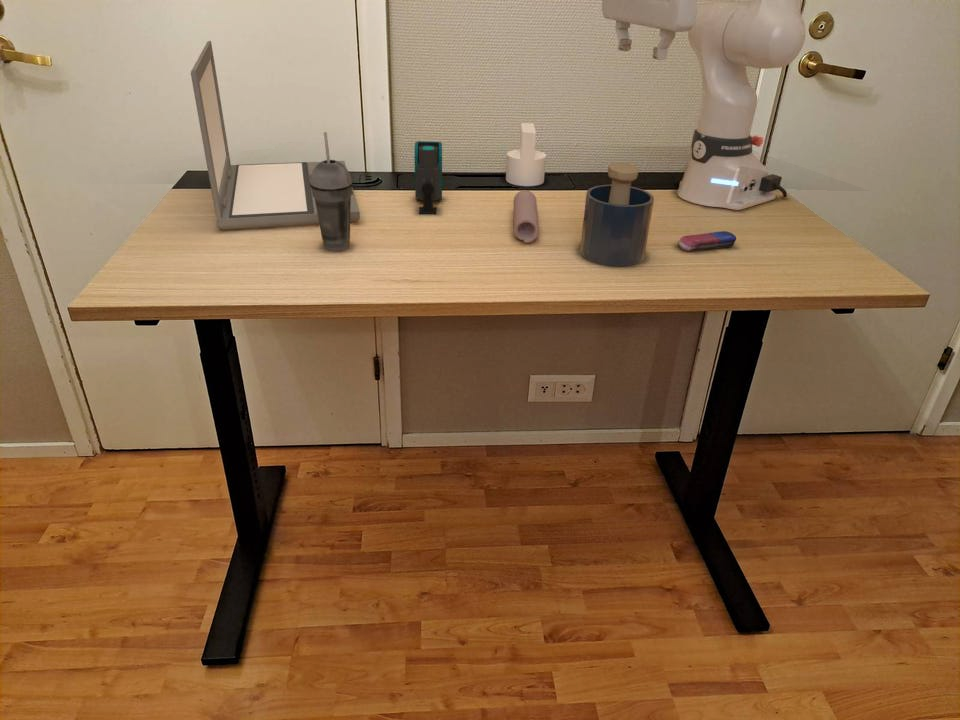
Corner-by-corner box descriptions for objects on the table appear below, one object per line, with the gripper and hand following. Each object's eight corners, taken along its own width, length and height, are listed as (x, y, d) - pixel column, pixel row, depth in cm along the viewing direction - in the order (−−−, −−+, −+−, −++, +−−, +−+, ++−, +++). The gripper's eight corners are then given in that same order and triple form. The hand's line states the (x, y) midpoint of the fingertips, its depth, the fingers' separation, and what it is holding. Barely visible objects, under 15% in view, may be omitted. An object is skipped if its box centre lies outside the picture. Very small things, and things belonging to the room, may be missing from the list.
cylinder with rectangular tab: (545, 186, 159) (549, 133, 153) (506, 185, 159) (508, 131, 153) (542, 175, 167) (546, 123, 160) (505, 173, 167) (507, 122, 160)
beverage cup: (322, 257, 121) (311, 141, 111) (311, 242, 127) (299, 130, 116) (362, 250, 124) (355, 137, 114) (349, 236, 130) (341, 127, 119)
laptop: (360, 224, 135) (350, 68, 120) (217, 233, 129) (188, 70, 114) (345, 171, 164) (335, 40, 149) (227, 176, 158) (205, 40, 143)
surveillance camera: (412, 154, 135) (414, 141, 143) (413, 213, 141) (415, 197, 150) (441, 154, 135) (442, 141, 144) (441, 214, 141) (442, 198, 150)
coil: (541, 221, 127) (538, 190, 143) (516, 218, 127) (515, 187, 142) (536, 245, 130) (534, 212, 145) (511, 241, 130) (512, 209, 145)
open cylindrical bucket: (618, 238, 134) (626, 181, 128) (657, 260, 125) (667, 201, 119) (567, 246, 129) (573, 189, 123) (604, 270, 120) (612, 209, 114)
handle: (620, 242, 129) (632, 162, 121) (629, 256, 124) (642, 173, 116) (595, 242, 129) (605, 162, 121) (602, 256, 124) (614, 173, 116)
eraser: (685, 253, 128) (687, 244, 127) (674, 244, 132) (675, 235, 131) (738, 246, 131) (740, 237, 130) (725, 238, 134) (727, 229, 133)
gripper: (714, -37, 103) (697, 63, 111) (629, -43, 118) (620, 45, 126) (681, -36, 101) (666, 66, 108) (599, -43, 116) (591, 47, 123)
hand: (641, 54), depth 117 cm, fingers open, 8 cm apart
